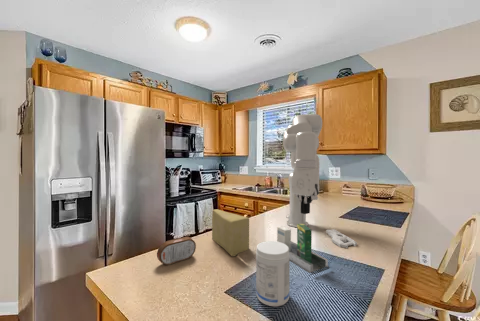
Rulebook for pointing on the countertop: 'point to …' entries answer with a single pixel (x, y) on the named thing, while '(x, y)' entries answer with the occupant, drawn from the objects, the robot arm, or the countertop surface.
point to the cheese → (230, 231)
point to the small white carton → (284, 236)
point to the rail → (315, 264)
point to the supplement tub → (272, 273)
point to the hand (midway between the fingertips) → (305, 213)
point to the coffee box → (304, 242)
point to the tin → (176, 250)
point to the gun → (340, 239)
